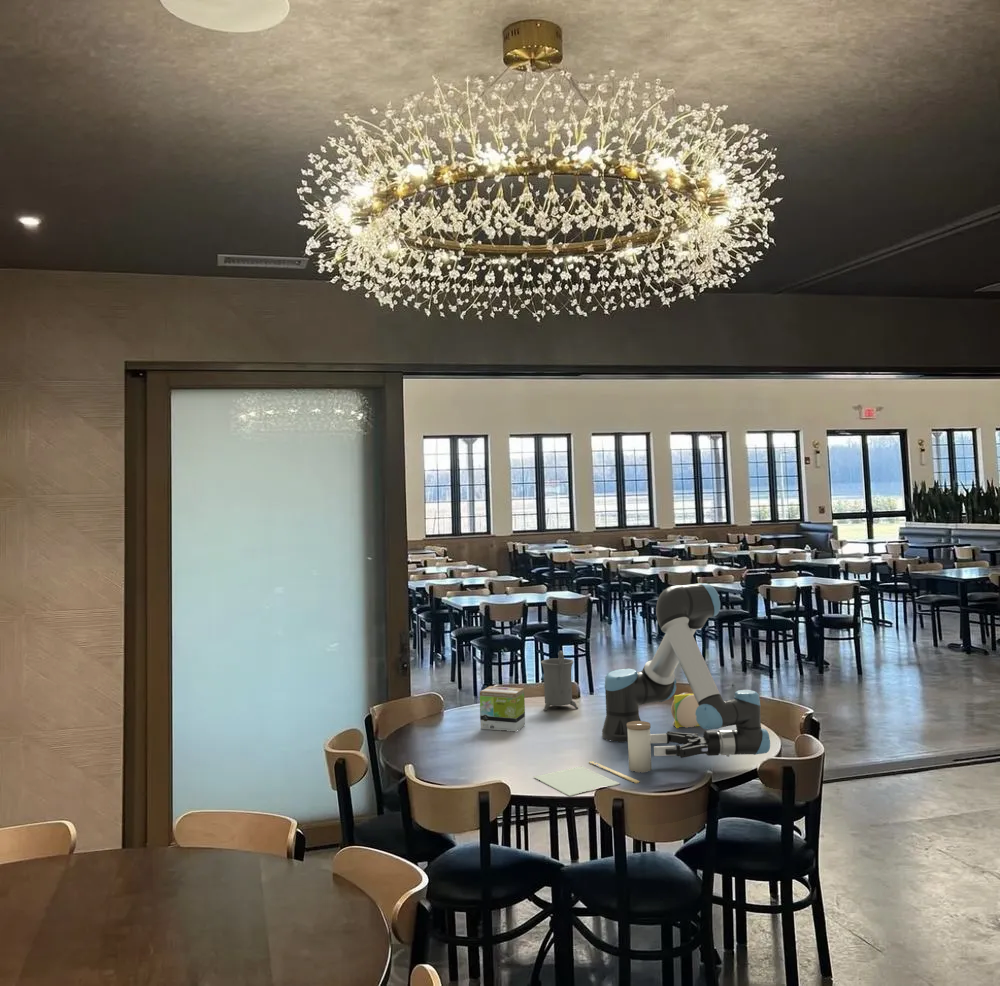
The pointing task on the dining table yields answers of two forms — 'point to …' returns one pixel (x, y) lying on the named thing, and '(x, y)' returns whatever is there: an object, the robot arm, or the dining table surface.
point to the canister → (639, 746)
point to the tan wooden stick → (617, 773)
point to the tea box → (502, 708)
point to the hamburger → (684, 710)
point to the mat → (575, 780)
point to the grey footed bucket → (558, 681)
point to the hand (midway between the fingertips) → (650, 744)
